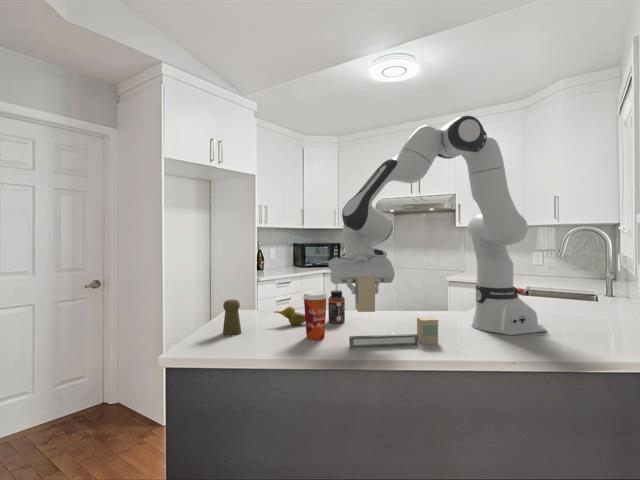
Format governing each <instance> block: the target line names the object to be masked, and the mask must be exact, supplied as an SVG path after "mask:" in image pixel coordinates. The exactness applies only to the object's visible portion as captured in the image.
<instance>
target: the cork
mask: <svg viewBox="0 0 640 480" xmlns="http://www.w3.org/2000/svg"><path fill="white" fill-rule="evenodd" d="M240 306H241V305H240V302H239V300H237V299H227V300H225V301H224V302H223V310H224V317H223V318H224V320H223V327H222V335H223V334H224V335H223V336H225V335H230V336H229V337H232V336H231V335H235V336H238V335H241V334H242V328H241V327H242V326H241V320H240V315H239V309H240Z"/></svg>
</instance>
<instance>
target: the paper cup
mask: <svg viewBox="0 0 640 480" xmlns="http://www.w3.org/2000/svg"><path fill="white" fill-rule="evenodd" d="M302 299H303V304H304V305H303V306H304V307H303V308H304V314H305V322H304V323H305V333H306V339H308V340H311V341H320V340H324V339H325V334H326V315H327V314H326V312H327V299H328V296H327V293H326V292H324V291H318V290H317V291H307V292H304V294H303V296H302Z"/></svg>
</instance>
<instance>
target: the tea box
mask: <svg viewBox="0 0 640 480" xmlns="http://www.w3.org/2000/svg"><path fill="white" fill-rule="evenodd" d="M416 334H417V335H418V343H420V344H421V343H422V344H421V345H430V344H431V343H435V344H439V319H437V318H436V317H434V316H417V317H416ZM427 343H429V344H427Z"/></svg>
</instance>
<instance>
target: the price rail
mask: <svg viewBox="0 0 640 480" xmlns="http://www.w3.org/2000/svg"><path fill="white" fill-rule="evenodd" d="M348 338H349V339H348V341H349V348H350V349H353V348H354V349H355V348H357V349H358V348H378V347H379V346H380V347H381V346H385V347H406V346H405V345H411V346H418V345H419V341H418V335H417V333H403V334H402V333H401V334H378V335H376V334H375V335H371V334H370V335H352V336H351V335H350V336H349V337H348ZM380 347H379V348H380Z"/></svg>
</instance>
